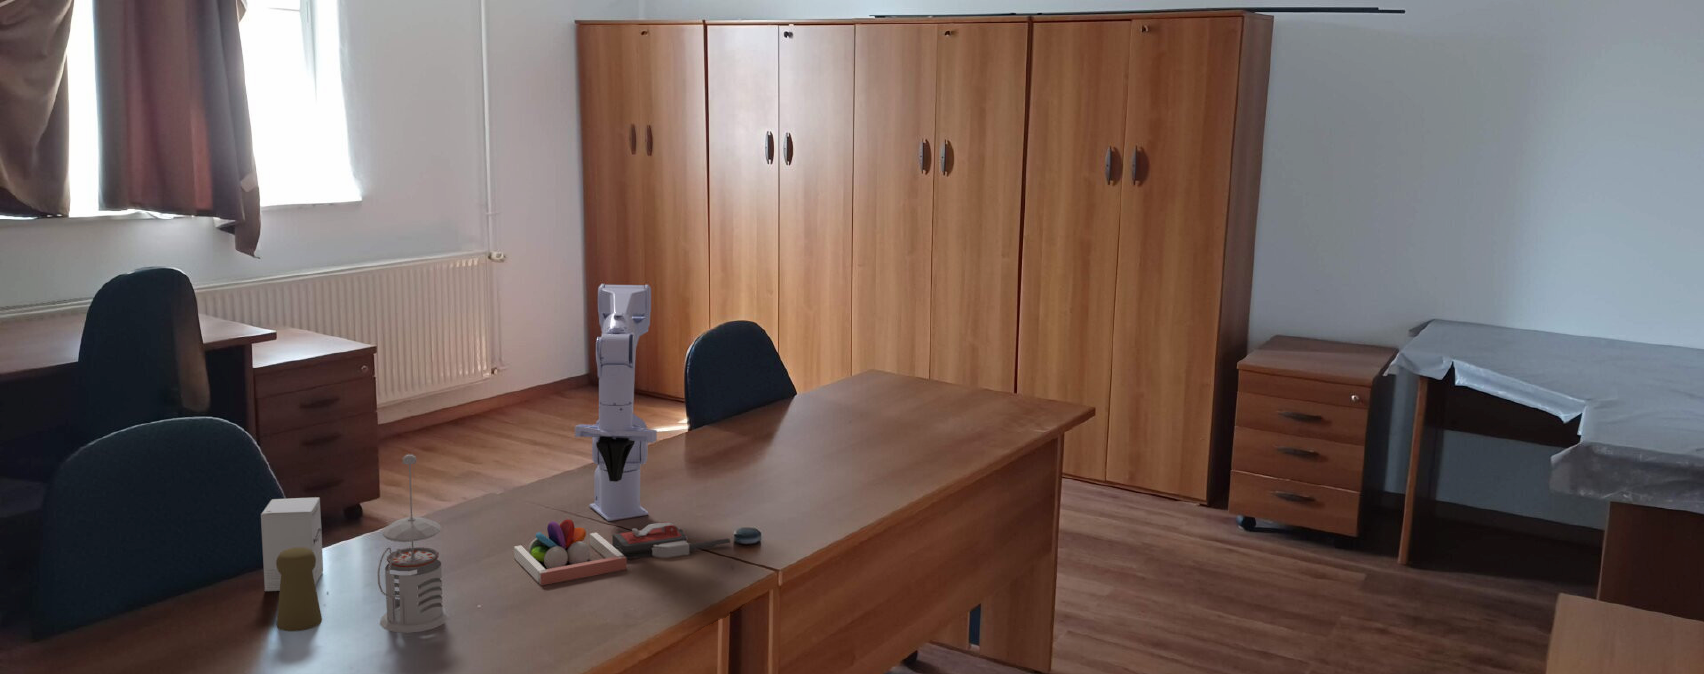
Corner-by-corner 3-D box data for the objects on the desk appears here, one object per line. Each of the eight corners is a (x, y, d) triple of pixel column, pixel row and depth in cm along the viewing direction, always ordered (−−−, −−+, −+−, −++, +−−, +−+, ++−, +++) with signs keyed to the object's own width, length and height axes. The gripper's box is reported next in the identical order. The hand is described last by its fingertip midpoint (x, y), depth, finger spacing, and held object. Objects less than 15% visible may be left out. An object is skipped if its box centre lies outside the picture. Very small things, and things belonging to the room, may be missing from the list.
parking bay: (514, 557, 207) (514, 546, 206) (596, 543, 215) (596, 532, 214) (541, 585, 196) (540, 573, 196) (626, 568, 204) (626, 557, 203)
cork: (293, 634, 176) (289, 561, 174) (267, 623, 179) (263, 551, 177) (331, 620, 181) (327, 548, 179) (305, 610, 184) (301, 539, 182)
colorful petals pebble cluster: (598, 564, 206) (598, 522, 204) (543, 576, 200) (543, 534, 198) (574, 548, 212) (574, 508, 211) (521, 560, 206) (520, 519, 205)
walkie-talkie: (620, 567, 205) (732, 550, 215) (620, 542, 204) (733, 525, 214) (604, 550, 213) (713, 533, 222) (604, 525, 212) (713, 510, 222)
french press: (463, 610, 186) (459, 449, 181) (414, 642, 175) (408, 471, 170) (408, 600, 188) (402, 441, 184) (356, 630, 178) (348, 463, 173)
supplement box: (315, 589, 191) (311, 511, 189) (263, 592, 190) (258, 513, 187) (325, 571, 198) (321, 496, 196) (275, 573, 197) (270, 497, 194)
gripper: (566, 403, 212) (566, 481, 214) (644, 409, 209) (644, 488, 210) (585, 397, 219) (585, 473, 221) (661, 402, 215) (661, 479, 217)
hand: (615, 480), depth 216 cm, fingers closed
